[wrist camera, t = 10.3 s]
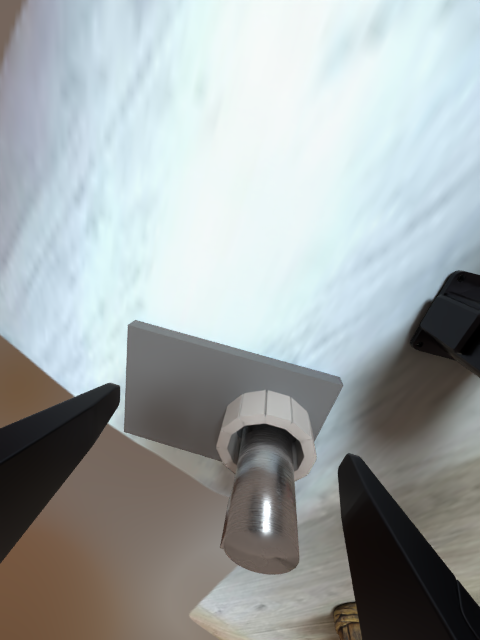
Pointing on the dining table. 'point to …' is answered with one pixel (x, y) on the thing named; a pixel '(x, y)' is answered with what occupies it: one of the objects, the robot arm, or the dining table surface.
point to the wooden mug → (347, 622)
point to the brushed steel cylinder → (263, 503)
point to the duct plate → (220, 395)
